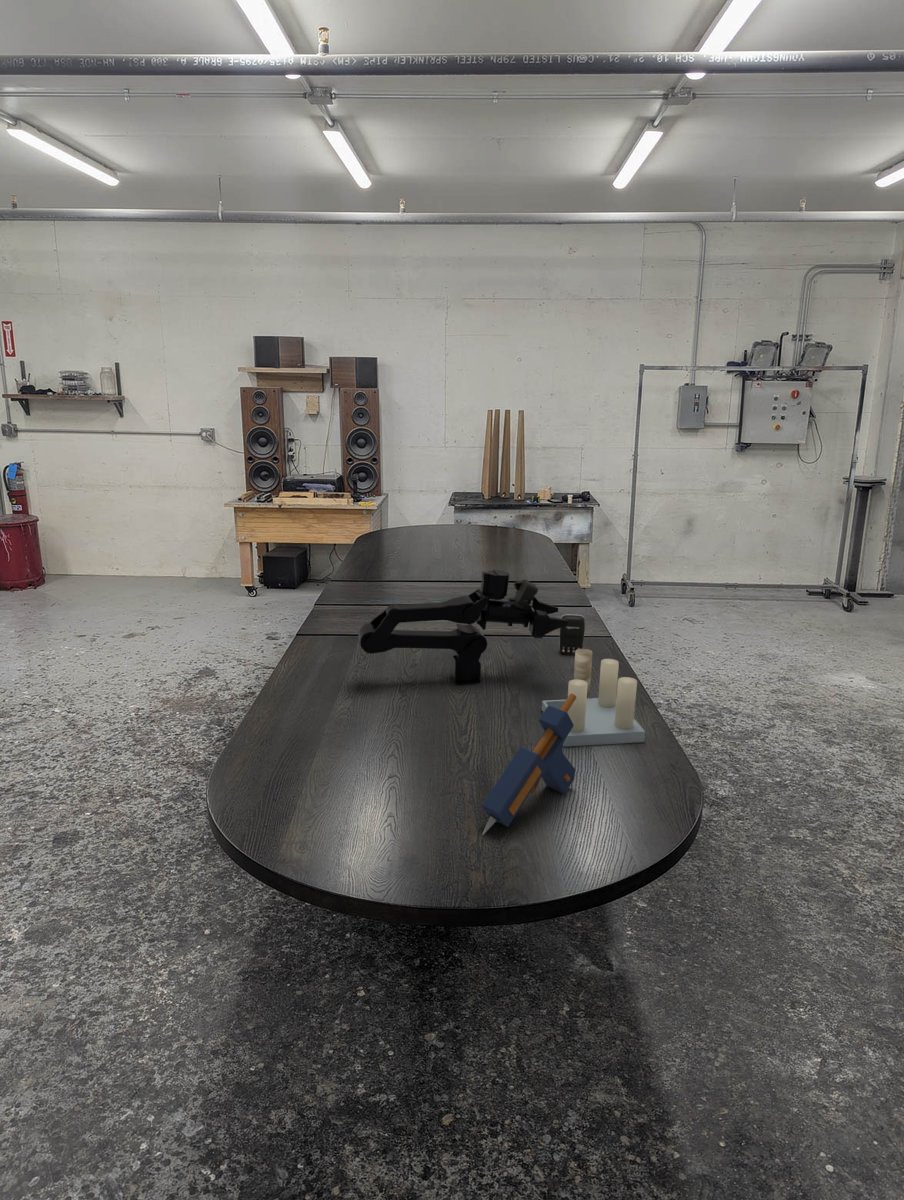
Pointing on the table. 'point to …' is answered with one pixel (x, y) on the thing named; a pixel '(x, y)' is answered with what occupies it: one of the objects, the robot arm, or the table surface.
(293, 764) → the table surface
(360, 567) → the table surface
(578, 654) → the loose leg
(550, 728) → the glue gun
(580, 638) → the battery charger
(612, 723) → the stool seat
